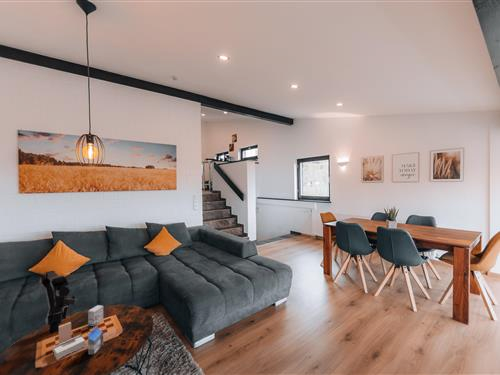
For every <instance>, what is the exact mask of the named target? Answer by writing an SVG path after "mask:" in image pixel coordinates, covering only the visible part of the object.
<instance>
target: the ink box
mask: <svg viewBox="0 0 500 375" xmlns="http://www.w3.org/2000/svg"><path fill="white" fill-rule="evenodd" d="M87 314H88V315H87V318H88V321H87V324H88V326H94V325H96V324H97V323H99V322H100V321H102V320H103V321H104V305H100V304H98V305H96V306H94V307H92V308H91V309H89V310H88V313H87Z"/></svg>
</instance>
